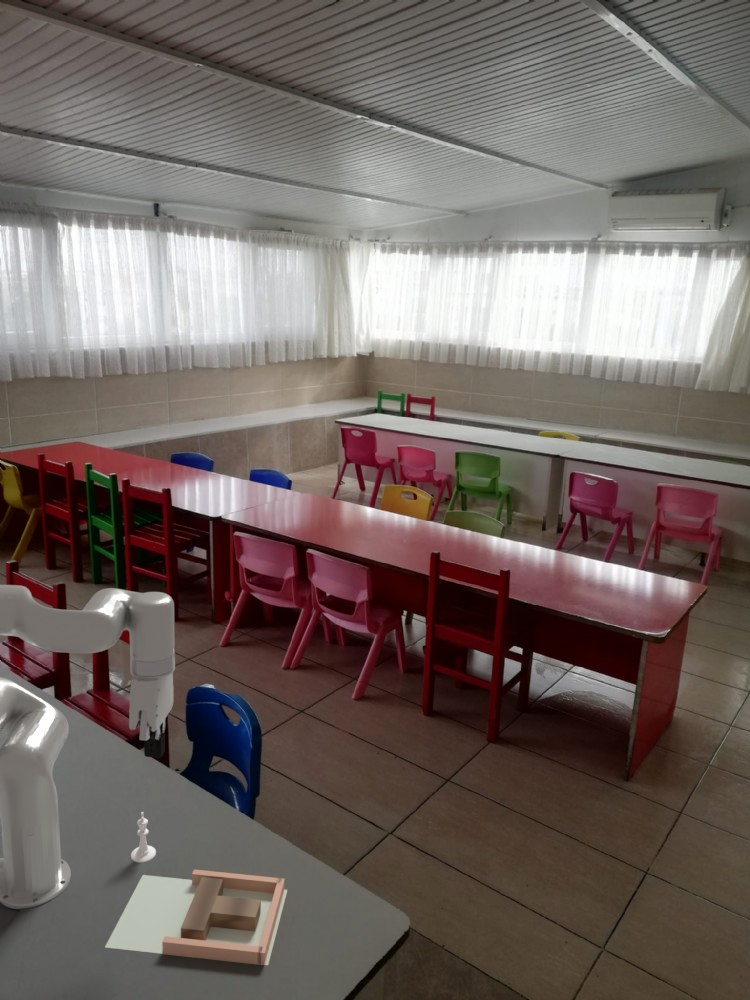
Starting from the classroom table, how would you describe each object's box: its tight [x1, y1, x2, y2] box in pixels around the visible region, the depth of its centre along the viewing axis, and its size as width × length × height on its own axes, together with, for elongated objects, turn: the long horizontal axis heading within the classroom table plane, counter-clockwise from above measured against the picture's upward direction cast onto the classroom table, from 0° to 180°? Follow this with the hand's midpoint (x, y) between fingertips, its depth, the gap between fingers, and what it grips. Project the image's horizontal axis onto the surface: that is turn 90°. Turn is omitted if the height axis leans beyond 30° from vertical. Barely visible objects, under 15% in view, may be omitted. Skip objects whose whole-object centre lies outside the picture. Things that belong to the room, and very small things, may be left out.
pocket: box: [162, 869, 286, 966], centre depth 133 cm, size 17×17×2 cm
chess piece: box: [130, 811, 157, 864], centre depth 147 cm, size 5×5×10 cm
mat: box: [104, 874, 288, 967], centre depth 133 cm, size 28×17×1 cm, turn 86°
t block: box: [181, 877, 261, 941], centre depth 133 cm, size 12×12×3 cm
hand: (154, 754), depth 135 cm, fingers closed
